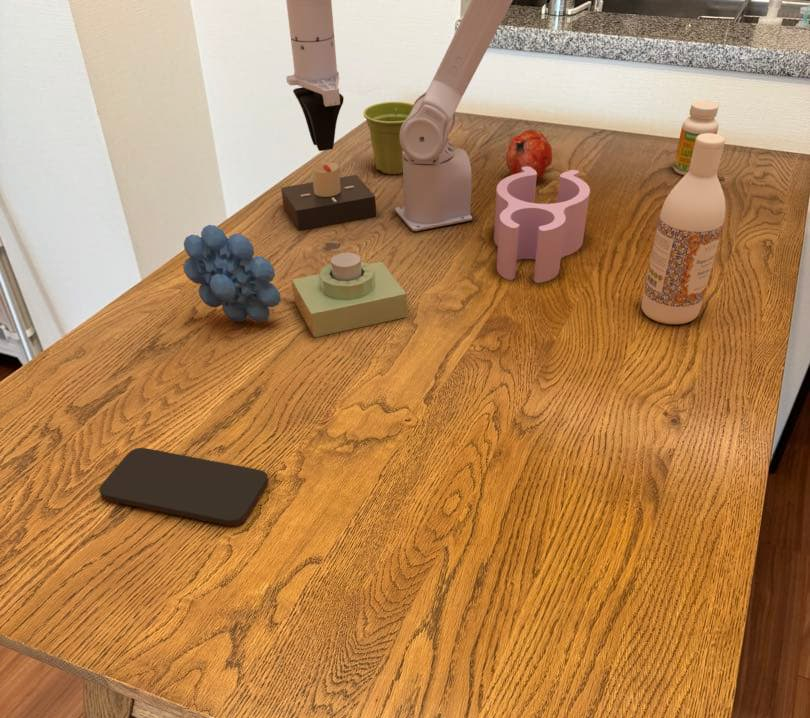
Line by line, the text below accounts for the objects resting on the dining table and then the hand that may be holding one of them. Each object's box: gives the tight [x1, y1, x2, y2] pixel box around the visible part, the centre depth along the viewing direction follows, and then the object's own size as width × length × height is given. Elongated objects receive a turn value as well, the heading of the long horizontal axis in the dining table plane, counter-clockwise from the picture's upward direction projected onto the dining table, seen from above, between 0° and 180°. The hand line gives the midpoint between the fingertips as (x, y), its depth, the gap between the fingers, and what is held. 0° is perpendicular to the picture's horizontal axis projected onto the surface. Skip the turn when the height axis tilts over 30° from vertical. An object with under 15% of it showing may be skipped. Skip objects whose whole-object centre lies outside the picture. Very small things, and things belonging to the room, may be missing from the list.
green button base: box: [291, 260, 408, 338], centre depth 96 cm, size 12×9×5 cm
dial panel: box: [280, 174, 377, 232], centre depth 117 cm, size 12×9×3 cm
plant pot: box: [362, 101, 414, 175], centre depth 127 cm, size 9×9×9 cm
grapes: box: [182, 224, 282, 323], centre depth 92 cm, size 12×7×12 cm, turn 78°
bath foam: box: [640, 133, 727, 325], centre depth 88 cm, size 7×7×20 cm
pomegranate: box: [505, 129, 553, 182], centre depth 123 cm, size 7×7×10 cm
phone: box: [99, 447, 269, 527], centre depth 75 cm, size 7×1×15 cm
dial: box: [310, 161, 341, 197], centre depth 115 cm, size 4×4×4 cm
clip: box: [493, 166, 591, 284], centre depth 106 cm, size 20×12×7 cm, turn 165°
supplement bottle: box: [673, 100, 720, 177], centre depth 122 cm, size 5×5×10 cm
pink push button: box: [330, 252, 362, 281], centre depth 94 cm, size 4×4×2 cm
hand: (323, 146), depth 112 cm, fingers closed
